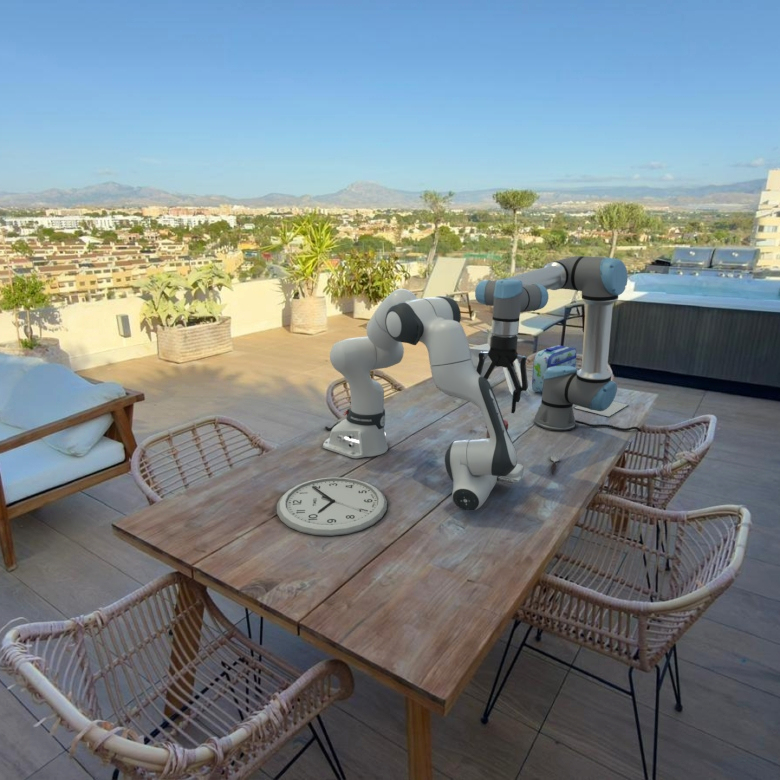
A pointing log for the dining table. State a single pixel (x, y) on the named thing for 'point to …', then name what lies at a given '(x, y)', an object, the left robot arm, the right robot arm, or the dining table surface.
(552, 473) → the fork
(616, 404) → the invitation card
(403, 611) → the dining table surface
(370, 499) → the wall clock
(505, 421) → the lid
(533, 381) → the lunch box
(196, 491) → the dining table surface
